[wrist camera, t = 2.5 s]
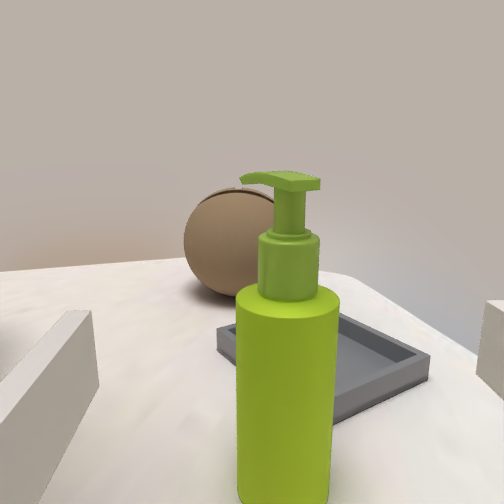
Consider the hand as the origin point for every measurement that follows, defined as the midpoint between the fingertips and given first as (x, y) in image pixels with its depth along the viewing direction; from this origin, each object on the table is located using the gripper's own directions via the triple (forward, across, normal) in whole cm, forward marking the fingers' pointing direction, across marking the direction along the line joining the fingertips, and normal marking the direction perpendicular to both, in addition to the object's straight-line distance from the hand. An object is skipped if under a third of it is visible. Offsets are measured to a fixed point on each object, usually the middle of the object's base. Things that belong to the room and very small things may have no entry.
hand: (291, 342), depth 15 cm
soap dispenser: (+11, +1, -15) cm, 19 cm away
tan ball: (+46, -1, -15) cm, 48 cm away
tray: (+25, +6, -15) cm, 30 cm away
